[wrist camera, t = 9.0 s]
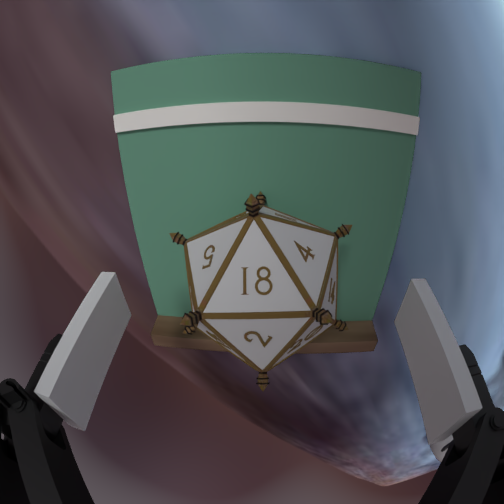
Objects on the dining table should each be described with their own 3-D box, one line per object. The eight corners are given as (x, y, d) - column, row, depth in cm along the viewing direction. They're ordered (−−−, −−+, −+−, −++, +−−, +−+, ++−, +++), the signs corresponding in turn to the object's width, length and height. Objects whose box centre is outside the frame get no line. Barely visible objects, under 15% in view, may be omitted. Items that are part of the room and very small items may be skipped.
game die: (281, 188, 19) (412, 189, 10) (286, 310, 21) (395, 372, 12) (142, 201, 16) (183, 201, 7) (163, 340, 17) (222, 456, 8)
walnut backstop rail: (159, 311, 22) (150, 334, 20) (370, 316, 21) (377, 340, 19) (162, 322, 22) (154, 345, 20) (367, 327, 21) (373, 351, 19)
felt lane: (114, 71, 12) (109, 71, 12) (417, 72, 11) (423, 72, 11) (159, 311, 22) (157, 316, 21) (370, 316, 21) (372, 322, 20)
